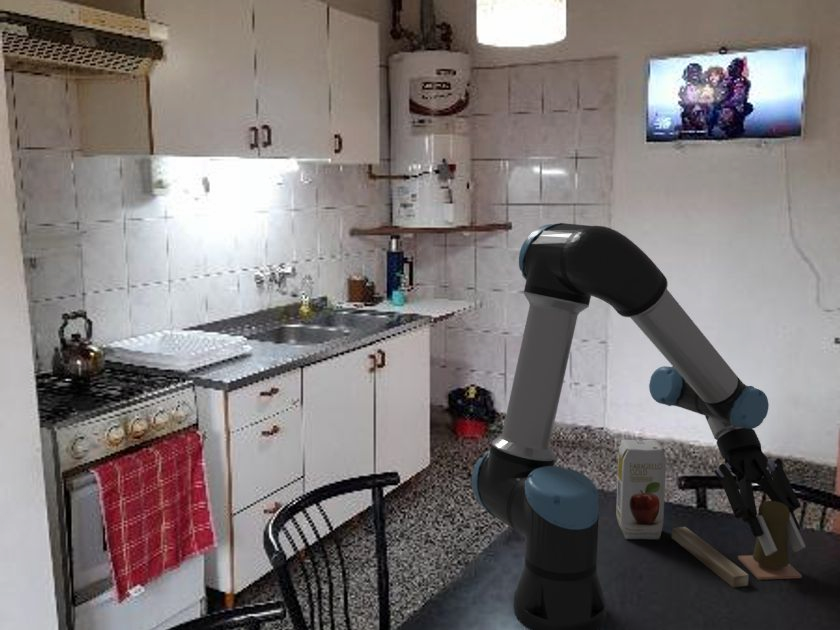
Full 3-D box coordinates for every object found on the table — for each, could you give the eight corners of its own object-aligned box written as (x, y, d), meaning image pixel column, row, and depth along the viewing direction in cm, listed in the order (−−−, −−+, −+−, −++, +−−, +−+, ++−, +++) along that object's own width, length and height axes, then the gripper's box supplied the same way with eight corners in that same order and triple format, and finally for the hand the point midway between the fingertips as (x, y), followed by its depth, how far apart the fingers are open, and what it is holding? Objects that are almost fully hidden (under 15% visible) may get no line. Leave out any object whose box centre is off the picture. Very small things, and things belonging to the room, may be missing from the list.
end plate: (758, 579, 137) (758, 577, 137) (737, 558, 145) (737, 555, 145) (801, 578, 137) (801, 575, 137) (778, 556, 145) (778, 554, 145)
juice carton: (613, 524, 160) (616, 437, 157) (655, 525, 160) (659, 437, 156) (621, 541, 153) (625, 450, 149) (665, 541, 152) (669, 450, 149)
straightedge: (732, 587, 135) (733, 576, 134) (671, 537, 154) (671, 528, 153) (747, 585, 135) (748, 574, 135) (684, 535, 154) (685, 526, 154)
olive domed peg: (792, 569, 137) (797, 511, 136) (756, 566, 139) (760, 509, 137) (783, 553, 143) (788, 498, 141) (749, 550, 145) (753, 495, 143)
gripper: (765, 439, 155) (817, 552, 142) (684, 447, 151) (731, 564, 138) (784, 422, 149) (841, 538, 136) (701, 429, 145) (751, 550, 132)
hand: (785, 551), depth 137 cm, fingers closed on olive domed peg, 5 cm apart
